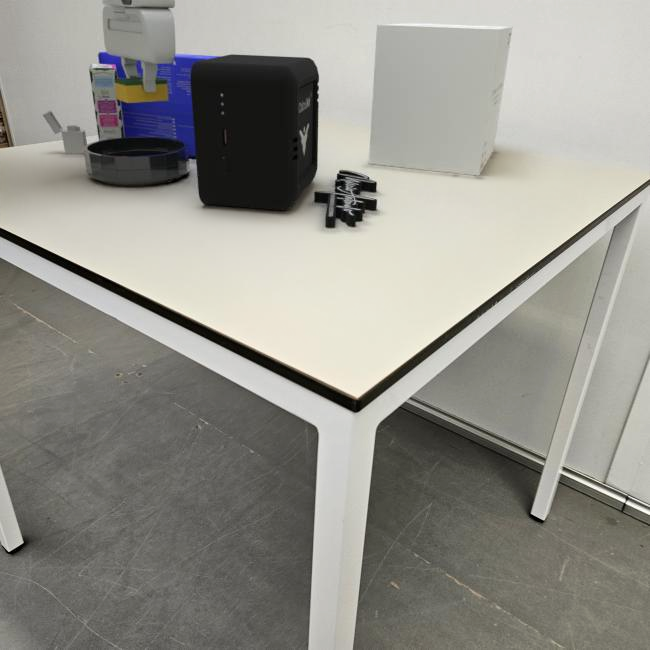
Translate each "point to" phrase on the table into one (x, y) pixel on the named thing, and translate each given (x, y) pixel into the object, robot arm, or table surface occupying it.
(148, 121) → the blue box
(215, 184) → the black computer case
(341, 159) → the table surface
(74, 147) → the lighter
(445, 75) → the cube
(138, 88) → the sponge
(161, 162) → the bowl
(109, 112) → the candy bar box
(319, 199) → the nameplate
